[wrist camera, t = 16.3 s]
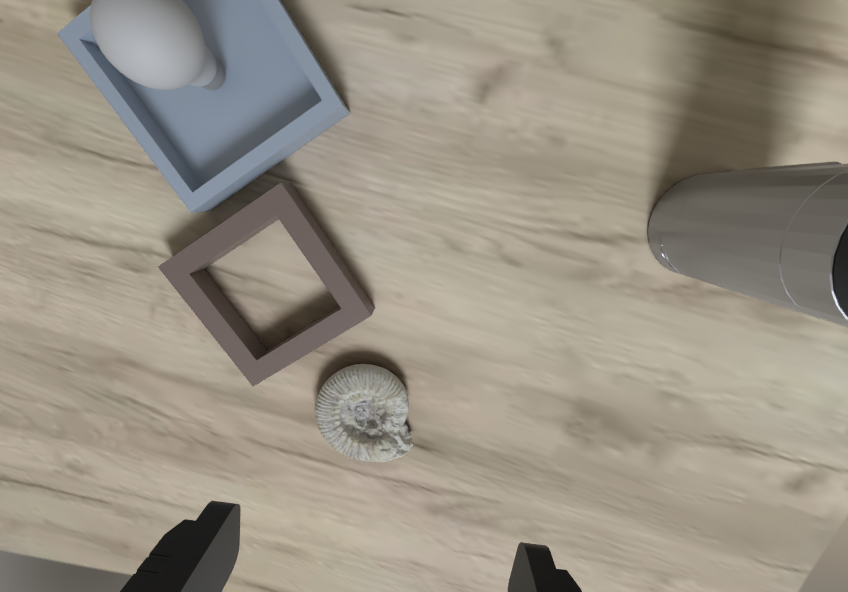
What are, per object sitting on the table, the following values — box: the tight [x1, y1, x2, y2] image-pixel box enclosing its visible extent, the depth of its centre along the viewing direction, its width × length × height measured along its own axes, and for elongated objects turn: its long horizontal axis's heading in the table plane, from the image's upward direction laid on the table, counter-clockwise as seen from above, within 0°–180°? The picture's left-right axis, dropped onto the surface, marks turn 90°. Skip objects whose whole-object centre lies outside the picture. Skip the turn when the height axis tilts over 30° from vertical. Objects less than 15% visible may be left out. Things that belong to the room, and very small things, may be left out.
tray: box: [57, 0, 350, 212], centre depth 32 cm, size 16×16×3 cm
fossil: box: [315, 364, 413, 462], centre depth 40 cm, size 11×4×10 cm
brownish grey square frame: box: [158, 182, 375, 386], centre depth 37 cm, size 14×14×2 cm
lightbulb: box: [90, 0, 226, 90], centre depth 28 cm, size 6×6×11 cm
